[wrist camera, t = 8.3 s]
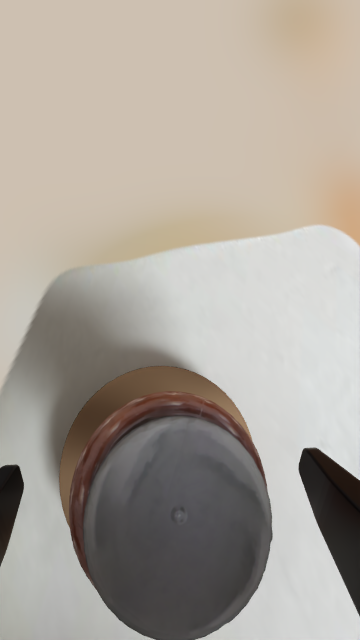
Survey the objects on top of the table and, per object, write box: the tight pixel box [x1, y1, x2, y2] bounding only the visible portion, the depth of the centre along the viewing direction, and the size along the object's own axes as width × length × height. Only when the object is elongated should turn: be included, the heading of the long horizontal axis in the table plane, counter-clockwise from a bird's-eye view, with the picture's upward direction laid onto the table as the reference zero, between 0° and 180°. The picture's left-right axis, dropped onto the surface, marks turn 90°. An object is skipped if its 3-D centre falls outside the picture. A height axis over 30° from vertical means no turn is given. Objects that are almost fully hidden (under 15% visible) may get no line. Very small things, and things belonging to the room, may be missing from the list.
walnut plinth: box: [59, 366, 252, 527], centre depth 18 cm, size 11×11×2 cm
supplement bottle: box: [69, 391, 272, 640], centre depth 11 cm, size 6×6×11 cm
